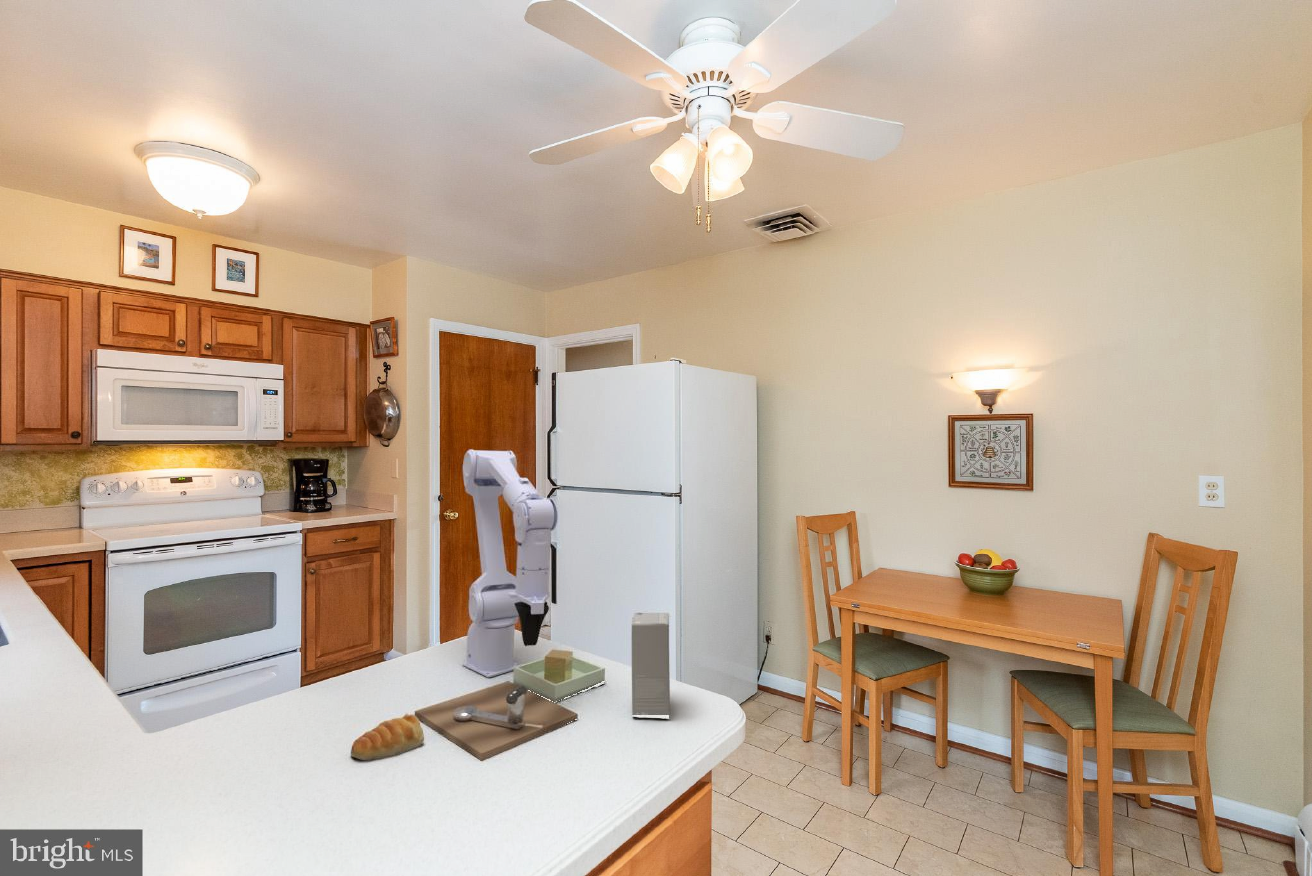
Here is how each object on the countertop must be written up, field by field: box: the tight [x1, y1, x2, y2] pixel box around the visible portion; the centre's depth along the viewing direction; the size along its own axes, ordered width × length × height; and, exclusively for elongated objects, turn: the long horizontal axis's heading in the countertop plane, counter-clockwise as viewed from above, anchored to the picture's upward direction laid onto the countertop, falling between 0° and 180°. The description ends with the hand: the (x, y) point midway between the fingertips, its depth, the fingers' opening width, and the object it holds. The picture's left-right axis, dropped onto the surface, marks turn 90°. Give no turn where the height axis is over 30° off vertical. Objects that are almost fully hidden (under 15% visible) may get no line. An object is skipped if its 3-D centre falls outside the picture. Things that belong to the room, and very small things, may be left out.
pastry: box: [350, 713, 425, 761], centre depth 87 cm, size 9×7×4 cm
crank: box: [453, 686, 527, 729], centre depth 94 cm, size 12×5×6 cm, turn 72°
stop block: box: [544, 649, 574, 684], centre depth 112 cm, size 4×4×5 cm
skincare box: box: [631, 612, 671, 716], centre depth 103 cm, size 8×7×16 cm
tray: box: [512, 655, 606, 702], centre depth 112 cm, size 12×12×3 cm
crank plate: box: [414, 680, 578, 761], centre depth 97 cm, size 19×18×1 cm
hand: (529, 644), depth 106 cm, fingers closed
